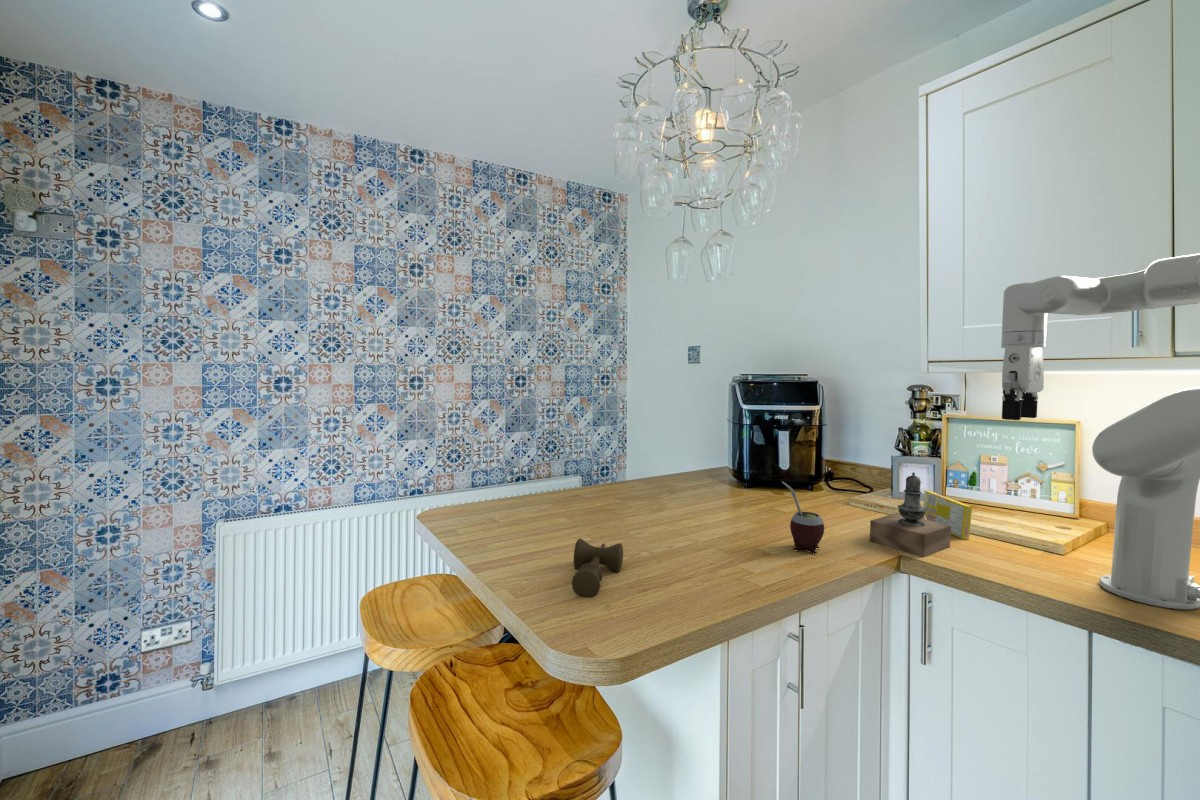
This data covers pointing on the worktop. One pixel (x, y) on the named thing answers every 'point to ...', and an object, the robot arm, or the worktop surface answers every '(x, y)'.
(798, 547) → the mate gourd
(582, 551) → the kendama
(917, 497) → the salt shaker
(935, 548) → the walnut block
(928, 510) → the candy box
